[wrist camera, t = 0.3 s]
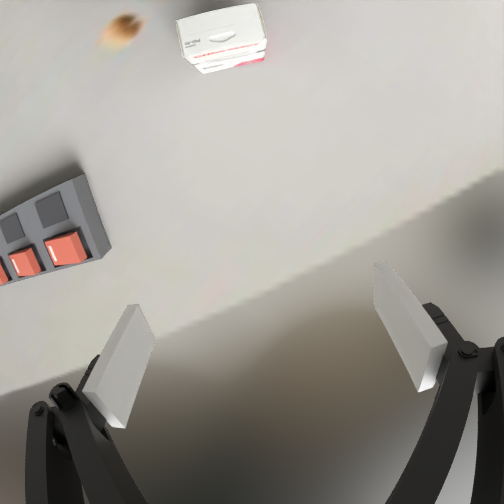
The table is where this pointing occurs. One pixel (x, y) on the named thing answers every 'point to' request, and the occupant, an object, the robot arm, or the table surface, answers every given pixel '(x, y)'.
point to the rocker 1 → (2, 276)
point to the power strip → (52, 226)
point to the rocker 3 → (66, 249)
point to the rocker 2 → (25, 262)
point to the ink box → (223, 37)
